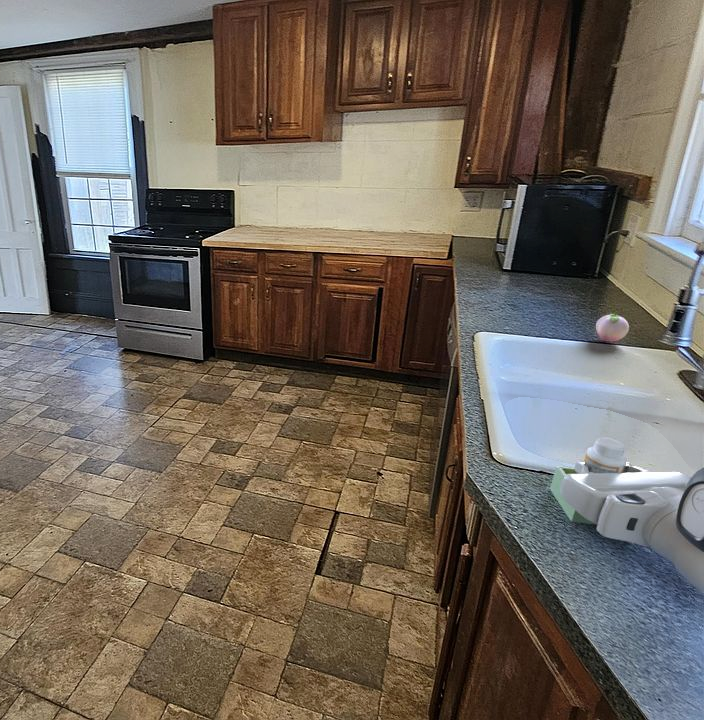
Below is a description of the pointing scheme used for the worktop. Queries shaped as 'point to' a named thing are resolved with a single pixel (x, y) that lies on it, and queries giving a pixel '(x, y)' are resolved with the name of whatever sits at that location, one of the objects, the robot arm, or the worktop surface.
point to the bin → (555, 489)
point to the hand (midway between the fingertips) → (599, 464)
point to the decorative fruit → (612, 327)
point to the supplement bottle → (606, 456)
